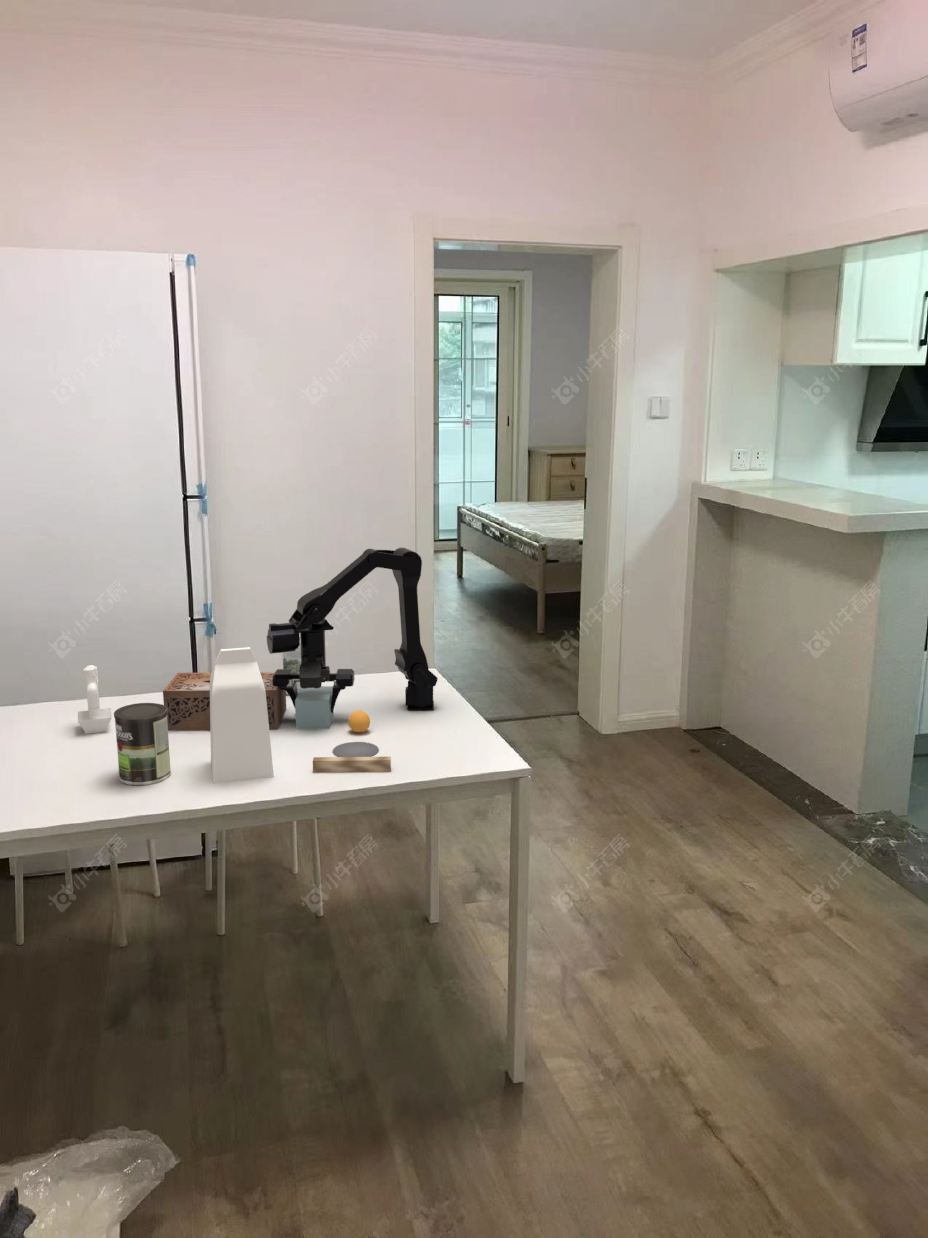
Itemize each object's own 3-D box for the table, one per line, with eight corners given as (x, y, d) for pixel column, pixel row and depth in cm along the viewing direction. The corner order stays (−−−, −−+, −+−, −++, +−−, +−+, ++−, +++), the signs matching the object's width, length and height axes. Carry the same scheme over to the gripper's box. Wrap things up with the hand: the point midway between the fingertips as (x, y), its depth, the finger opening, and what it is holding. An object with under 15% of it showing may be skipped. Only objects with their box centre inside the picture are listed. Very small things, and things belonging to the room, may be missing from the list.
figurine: (79, 738, 225) (73, 674, 222) (79, 725, 234) (73, 663, 230) (112, 734, 228) (107, 671, 224) (111, 721, 236) (106, 660, 233)
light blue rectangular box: (333, 712, 243) (332, 686, 241) (329, 728, 232) (328, 700, 231) (301, 713, 243) (300, 686, 241) (296, 728, 232) (295, 701, 230)
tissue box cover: (165, 732, 230) (162, 690, 228) (180, 711, 244) (178, 672, 242) (277, 731, 231) (276, 690, 229) (286, 711, 245) (284, 672, 243)
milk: (213, 783, 201) (206, 658, 195) (210, 762, 212) (203, 644, 206) (273, 776, 204) (268, 654, 198) (268, 756, 215) (263, 640, 209)
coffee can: (133, 790, 197) (128, 722, 194) (110, 775, 204) (104, 710, 201) (181, 776, 204) (176, 710, 201) (156, 762, 211) (152, 699, 208)
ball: (370, 728, 233) (370, 707, 231) (369, 735, 228) (369, 714, 227) (349, 728, 232) (348, 707, 231) (347, 735, 228) (347, 715, 226)
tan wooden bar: (390, 767, 209) (390, 756, 208) (390, 771, 207) (390, 760, 206) (314, 768, 208) (313, 757, 208) (313, 772, 206) (312, 760, 206)
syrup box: (311, 689, 261) (309, 636, 258) (305, 696, 255) (303, 641, 252) (289, 688, 262) (287, 635, 258) (283, 695, 256) (281, 641, 253)
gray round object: (379, 742, 223) (379, 741, 223) (377, 759, 214) (377, 758, 214) (334, 742, 223) (334, 742, 223) (330, 759, 213) (330, 758, 213)
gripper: (267, 658, 225) (270, 724, 229) (350, 658, 226) (351, 723, 229) (274, 645, 236) (277, 708, 240) (354, 645, 237) (355, 708, 240)
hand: (315, 712), depth 237 cm, fingers closed on light blue rectangular box, 8 cm apart
